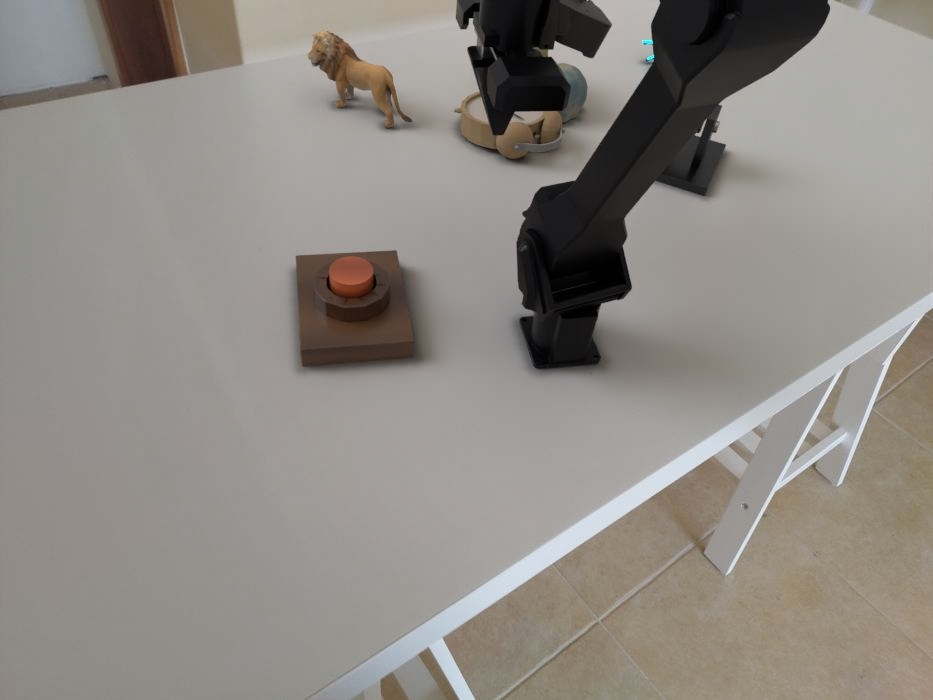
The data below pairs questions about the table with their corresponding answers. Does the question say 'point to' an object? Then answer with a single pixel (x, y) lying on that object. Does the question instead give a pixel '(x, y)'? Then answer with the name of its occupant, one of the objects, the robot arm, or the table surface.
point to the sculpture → (572, 89)
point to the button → (351, 277)
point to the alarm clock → (511, 129)
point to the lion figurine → (354, 73)
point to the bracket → (696, 160)
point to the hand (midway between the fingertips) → (497, 133)
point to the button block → (352, 313)
